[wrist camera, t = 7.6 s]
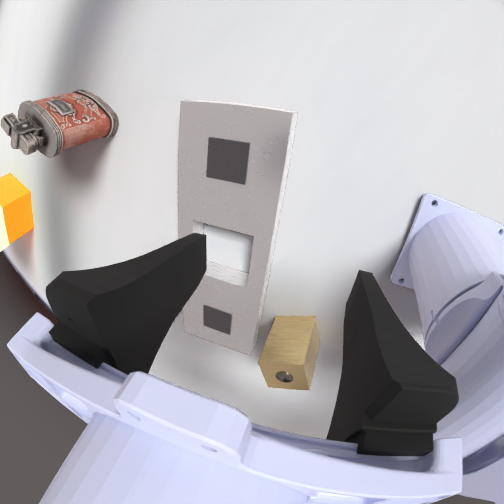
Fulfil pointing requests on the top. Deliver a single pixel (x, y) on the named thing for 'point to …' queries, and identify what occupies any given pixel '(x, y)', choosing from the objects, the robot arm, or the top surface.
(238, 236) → the top surface
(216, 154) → the rail
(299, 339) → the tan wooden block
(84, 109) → the lighter
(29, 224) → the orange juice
